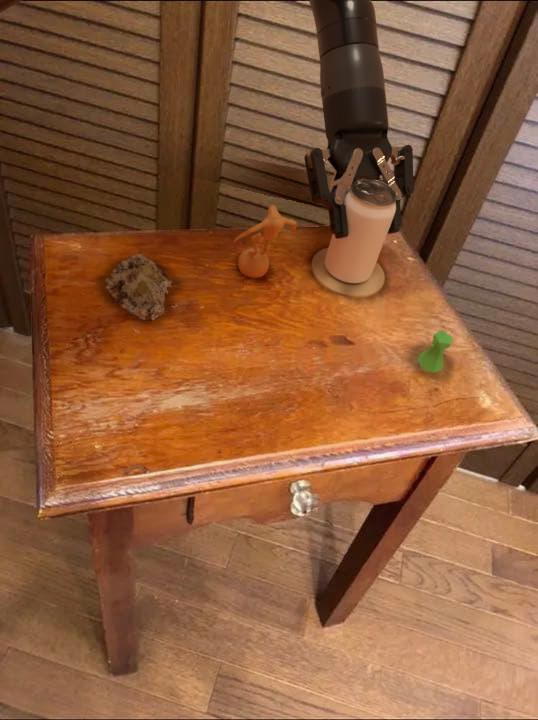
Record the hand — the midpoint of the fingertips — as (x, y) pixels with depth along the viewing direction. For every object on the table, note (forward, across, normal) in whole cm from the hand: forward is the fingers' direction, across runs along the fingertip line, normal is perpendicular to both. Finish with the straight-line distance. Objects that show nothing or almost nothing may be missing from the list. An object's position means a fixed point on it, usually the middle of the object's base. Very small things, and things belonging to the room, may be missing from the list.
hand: (367, 235), depth 72 cm
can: (+4, 0, +6) cm, 7 cm away
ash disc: (+5, 0, +7) cm, 9 cm away
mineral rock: (+4, -27, +8) cm, 29 cm away
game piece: (+17, +3, -5) cm, 18 cm away
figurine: (+4, -12, +8) cm, 16 cm away
